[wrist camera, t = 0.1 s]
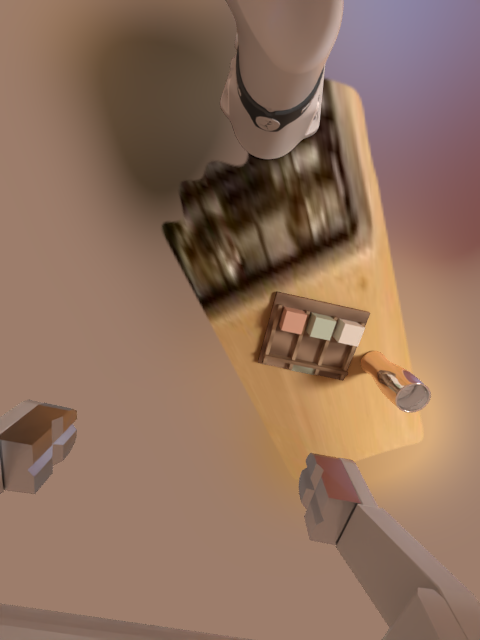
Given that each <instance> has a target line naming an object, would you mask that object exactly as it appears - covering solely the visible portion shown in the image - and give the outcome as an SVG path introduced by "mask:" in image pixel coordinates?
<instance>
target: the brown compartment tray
mask: <svg viewBox="0 0 480 640" xmlns="http://www.w3.org/2000/svg"><path fill="white" fill-rule="evenodd" d="M284 306H285V307H289V308H294V309H299V310H303V311H304V312H305V313H306V314H307V318H306V321H305V324H304V328H303V331H302V334H296V333H292V332H287V331H282V330H281V328H280V326H279V322H280V319H281V315H282V311H283V308H284ZM311 312H312V313H317V314H321V315H326V316H330V317H331V318H333V319H334V320H335V321H336V323H337V321H338V318H340V319H344V320H349V321H353V322H357V323H359V324H360V325H362V326H363V327H365V325H366V323H367V320H368V318H369V315H370V313H369V312H367V311H362V310H358V309H353V308H349V307H344V306H340V305H335V304H331V303H326V302H322V301H317V300H313V299H308V298H304V297H299V296H295V295H290V294H286V293H281V292H277V293H276V296H275V300H274V304H273V307H272V311H271V315H270V319H269V322H268V326H267V330H266V334H265V337H264V341H263V345H262V348H261V352H260V356H259V360H258V363H262V364H265V365H271V366H276V367H281V368H286V369H289V370H292V371H297V372H302V373H307V374H312V375H320V376H325V377H330V378H335V379H339V380H344V378H345V375H348V372H347V370H348V368H349V365H350V363H351V360H352V358H353V355H354V353H355V350H356V348H357V346H352V345H348V344H343V343H338V342H337V341H336V340H335V339H334V338H333V337H332V336H331V338H330V341H329V340H324V339H320V338H315V337H310V336H309V334H308V333H307V332H306V327H307V324H308V321H309V318H310V315H311ZM335 326H336V325H335ZM334 329H335V327H334ZM333 332H334V330H333ZM332 335H333V333H332Z"/></svg>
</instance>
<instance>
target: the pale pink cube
mask: <svg viewBox="0 0 480 640" xmlns="http://www.w3.org/2000/svg"><path fill="white" fill-rule="evenodd" d="M364 330H365V327H363V326H362V325H360V324H359V323H357V322H353V321H349V320H344V319H340V318H338V321H337V323H336V326H335V329H334V332H333V335H332V337H333V338H334V339H335V340H336V341H337V342H338V343H343V344H348V345H352V346H357V347H358V345H359V342H360V340H361V337H362V335H363V332H364Z"/></svg>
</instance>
